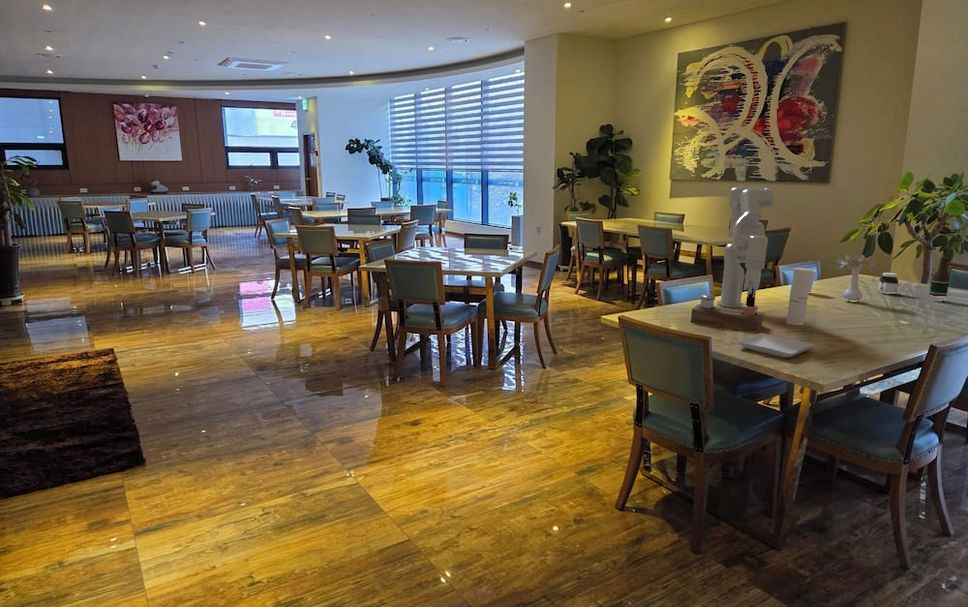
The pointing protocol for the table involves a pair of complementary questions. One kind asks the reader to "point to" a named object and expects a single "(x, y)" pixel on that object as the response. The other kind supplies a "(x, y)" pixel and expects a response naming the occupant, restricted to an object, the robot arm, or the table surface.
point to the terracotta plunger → (749, 310)
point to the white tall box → (798, 296)
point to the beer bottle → (940, 279)
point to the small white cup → (707, 301)
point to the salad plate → (775, 345)
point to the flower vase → (854, 274)
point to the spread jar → (889, 283)
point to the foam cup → (812, 279)
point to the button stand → (727, 318)
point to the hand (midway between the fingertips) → (750, 305)
